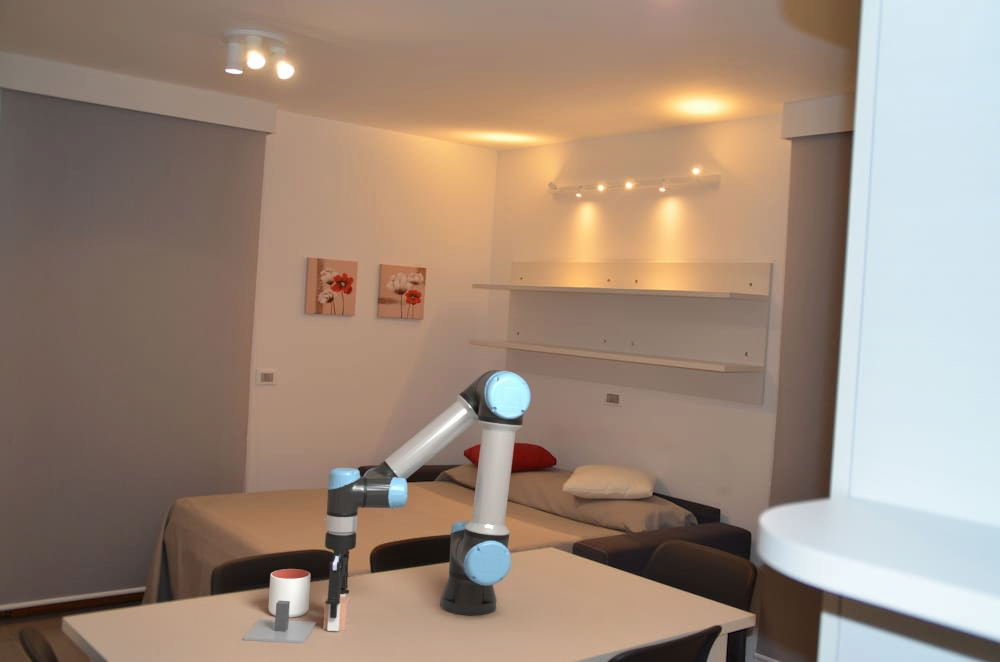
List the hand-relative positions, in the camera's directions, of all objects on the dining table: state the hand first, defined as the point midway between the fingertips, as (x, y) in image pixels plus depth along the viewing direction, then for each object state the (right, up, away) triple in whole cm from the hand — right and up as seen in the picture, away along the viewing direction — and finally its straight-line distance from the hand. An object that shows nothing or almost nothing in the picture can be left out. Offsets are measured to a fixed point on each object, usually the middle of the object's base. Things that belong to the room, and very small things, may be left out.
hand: (336, 625), depth 213 cm
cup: (-14, 0, +9) cm, 16 cm away
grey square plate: (-12, 0, -6) cm, 13 cm away
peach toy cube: (0, 0, 0) cm, 0 cm away
